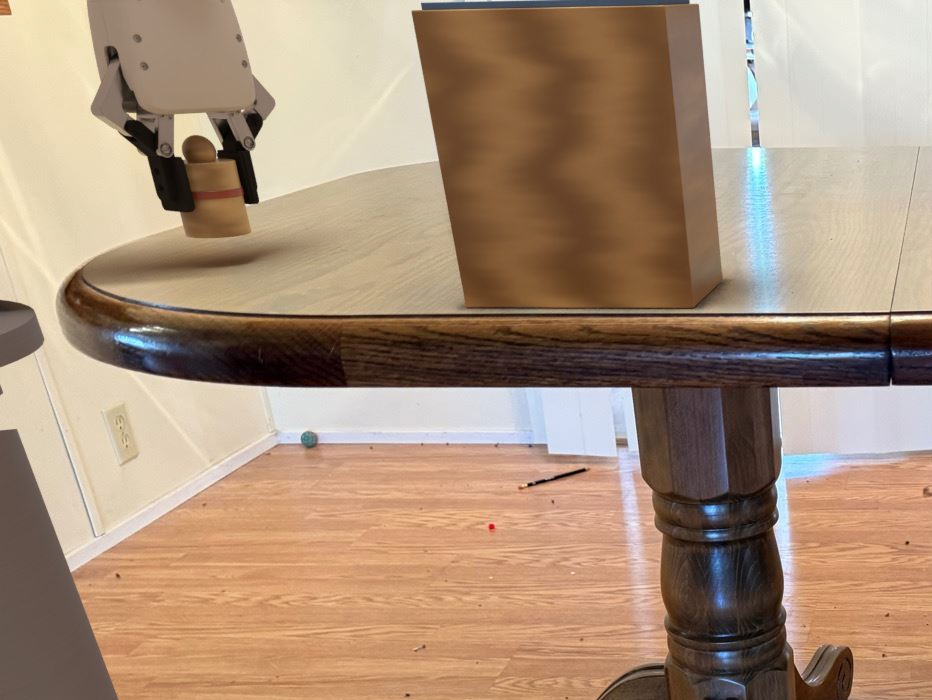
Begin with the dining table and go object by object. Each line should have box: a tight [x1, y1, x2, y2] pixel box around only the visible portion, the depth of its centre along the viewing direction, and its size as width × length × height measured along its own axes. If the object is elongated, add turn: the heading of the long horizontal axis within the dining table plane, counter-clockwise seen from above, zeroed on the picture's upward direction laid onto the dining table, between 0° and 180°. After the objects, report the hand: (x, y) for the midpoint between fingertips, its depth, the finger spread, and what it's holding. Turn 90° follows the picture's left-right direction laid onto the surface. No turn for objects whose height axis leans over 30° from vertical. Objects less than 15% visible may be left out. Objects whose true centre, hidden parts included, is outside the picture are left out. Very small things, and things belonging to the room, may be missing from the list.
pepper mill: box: [179, 134, 252, 239], centre depth 99 cm, size 5×5×7 cm
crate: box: [410, 3, 723, 309], centre depth 84 cm, size 16×9×18 cm, turn 85°
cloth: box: [420, 0, 691, 10], centre depth 79 cm, size 15×8×1 cm, turn 85°
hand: (211, 204), depth 99 cm, fingers closed on pepper mill, 5 cm apart
